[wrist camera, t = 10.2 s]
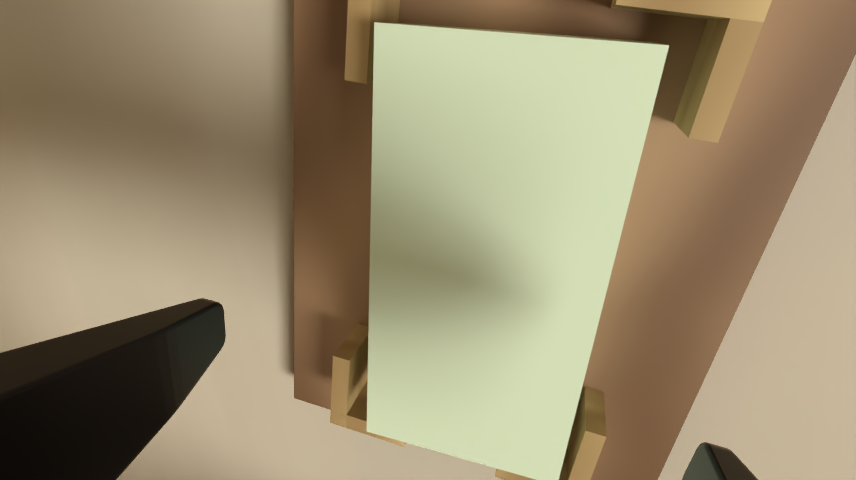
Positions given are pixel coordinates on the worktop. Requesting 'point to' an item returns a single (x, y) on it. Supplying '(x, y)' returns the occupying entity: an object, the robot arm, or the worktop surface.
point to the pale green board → (496, 231)
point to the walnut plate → (646, 215)
